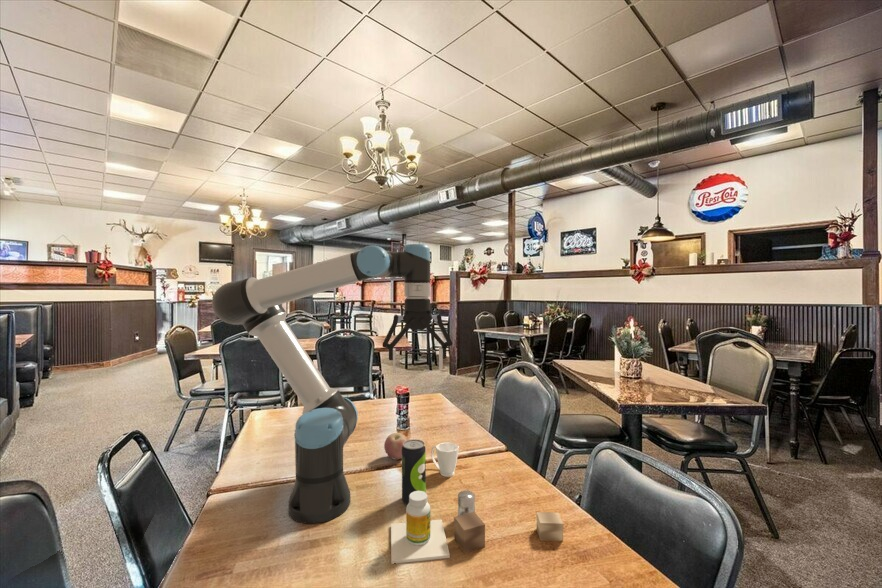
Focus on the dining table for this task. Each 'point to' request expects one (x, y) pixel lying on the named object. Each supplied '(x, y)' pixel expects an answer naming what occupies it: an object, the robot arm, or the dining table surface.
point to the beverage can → (413, 468)
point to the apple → (395, 445)
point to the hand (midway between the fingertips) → (417, 370)
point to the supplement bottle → (418, 519)
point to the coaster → (412, 553)
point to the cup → (446, 458)
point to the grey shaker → (466, 502)
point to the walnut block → (469, 532)
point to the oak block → (549, 526)
